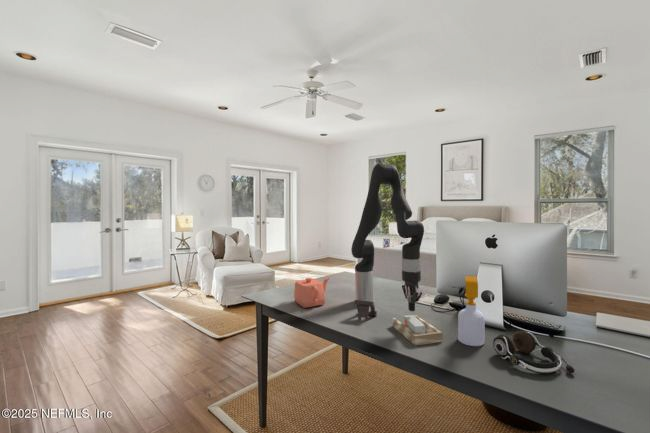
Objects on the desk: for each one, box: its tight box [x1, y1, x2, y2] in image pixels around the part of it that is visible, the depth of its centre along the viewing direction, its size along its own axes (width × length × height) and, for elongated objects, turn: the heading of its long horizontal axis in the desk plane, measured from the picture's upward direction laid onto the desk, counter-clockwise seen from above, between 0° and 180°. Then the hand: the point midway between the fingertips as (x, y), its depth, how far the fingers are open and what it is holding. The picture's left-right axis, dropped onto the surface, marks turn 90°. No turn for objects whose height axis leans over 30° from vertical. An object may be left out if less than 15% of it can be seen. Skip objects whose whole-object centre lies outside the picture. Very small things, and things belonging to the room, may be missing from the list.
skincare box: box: [403, 314, 426, 334], centre depth 127 cm, size 6×4×12 cm
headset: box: [492, 330, 575, 375], centre depth 104 cm, size 17×8×20 cm
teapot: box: [293, 277, 331, 309], centre depth 170 cm, size 20×19×14 cm
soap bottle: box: [457, 275, 486, 347], centre depth 120 cm, size 9×9×25 cm
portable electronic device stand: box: [354, 299, 378, 322], centre depth 147 cm, size 9×8×8 cm
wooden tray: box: [391, 314, 444, 346], centre depth 128 cm, size 19×11×4 cm, turn 14°
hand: (411, 310), depth 131 cm, fingers closed
